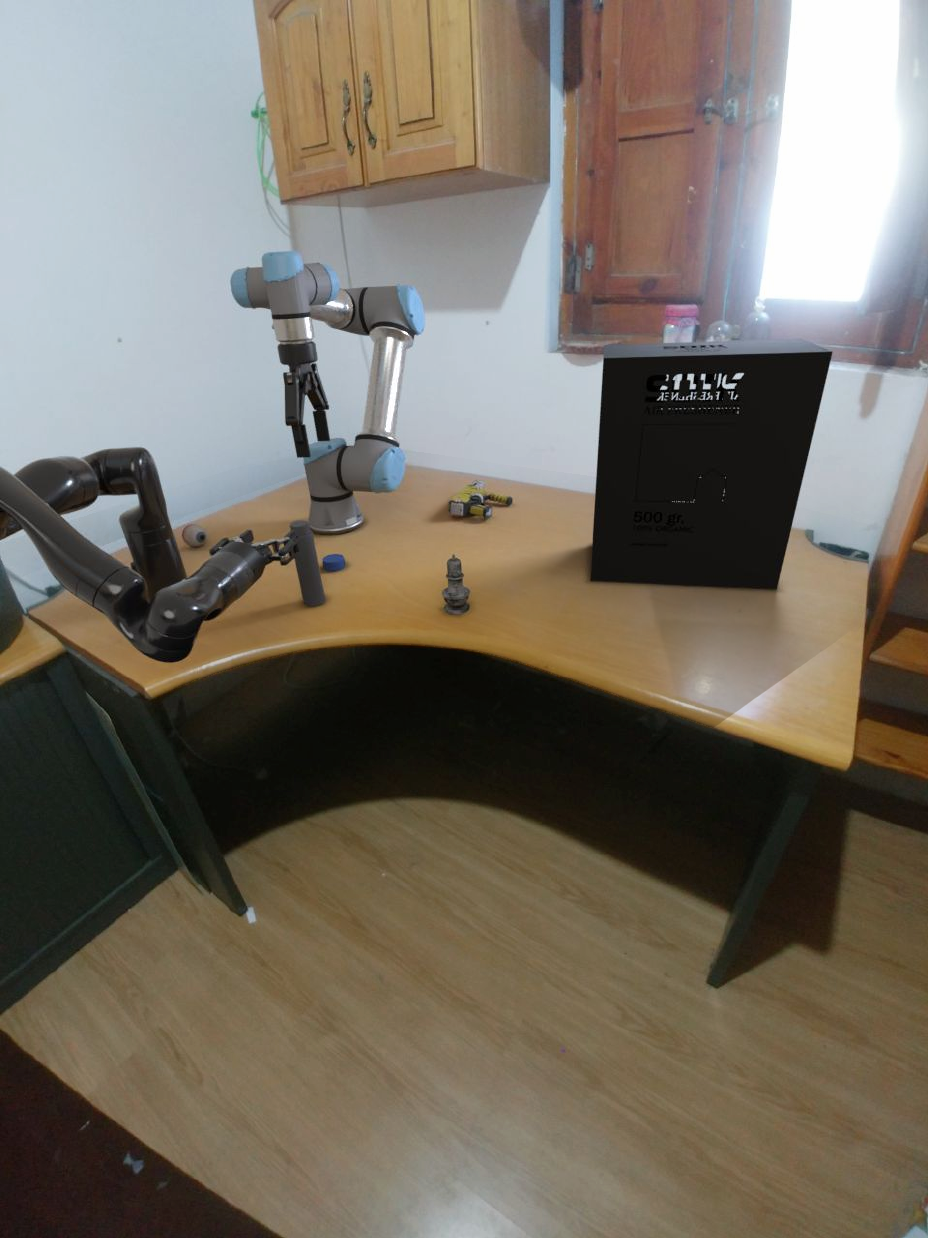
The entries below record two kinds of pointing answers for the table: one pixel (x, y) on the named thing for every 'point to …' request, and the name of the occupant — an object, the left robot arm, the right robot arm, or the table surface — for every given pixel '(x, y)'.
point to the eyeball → (194, 535)
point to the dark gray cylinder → (308, 565)
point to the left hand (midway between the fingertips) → (272, 534)
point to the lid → (333, 562)
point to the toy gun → (475, 501)
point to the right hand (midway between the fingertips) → (314, 448)
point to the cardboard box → (703, 460)
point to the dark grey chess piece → (455, 588)
